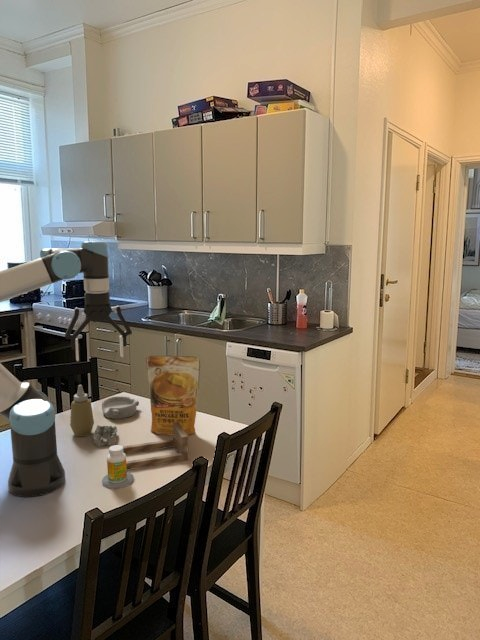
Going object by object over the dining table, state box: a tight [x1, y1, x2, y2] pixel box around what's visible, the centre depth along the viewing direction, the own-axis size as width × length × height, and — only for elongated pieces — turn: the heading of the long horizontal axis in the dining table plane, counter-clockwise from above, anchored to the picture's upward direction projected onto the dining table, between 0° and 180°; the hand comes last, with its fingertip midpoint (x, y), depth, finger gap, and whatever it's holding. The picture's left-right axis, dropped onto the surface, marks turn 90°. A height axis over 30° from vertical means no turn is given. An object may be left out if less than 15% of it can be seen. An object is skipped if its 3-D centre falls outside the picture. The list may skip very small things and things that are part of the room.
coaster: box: [101, 471, 135, 490], centre depth 143 cm, size 9×9×1 cm
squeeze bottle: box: [69, 384, 95, 437], centre depth 174 cm, size 8×8×18 cm
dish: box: [101, 395, 140, 420], centre depth 195 cm, size 14×14×5 cm
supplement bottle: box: [106, 444, 128, 483], centre depth 143 cm, size 5×5×10 cm
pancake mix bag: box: [145, 355, 201, 436], centre depth 176 cm, size 7×19×28 cm, turn 85°
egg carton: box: [92, 424, 118, 447], centre depth 171 cm, size 11×8×4 cm
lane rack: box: [122, 422, 189, 470], centre depth 158 cm, size 20×12×8 cm, turn 110°
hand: (100, 358), depth 156 cm, fingers open, 13 cm apart
